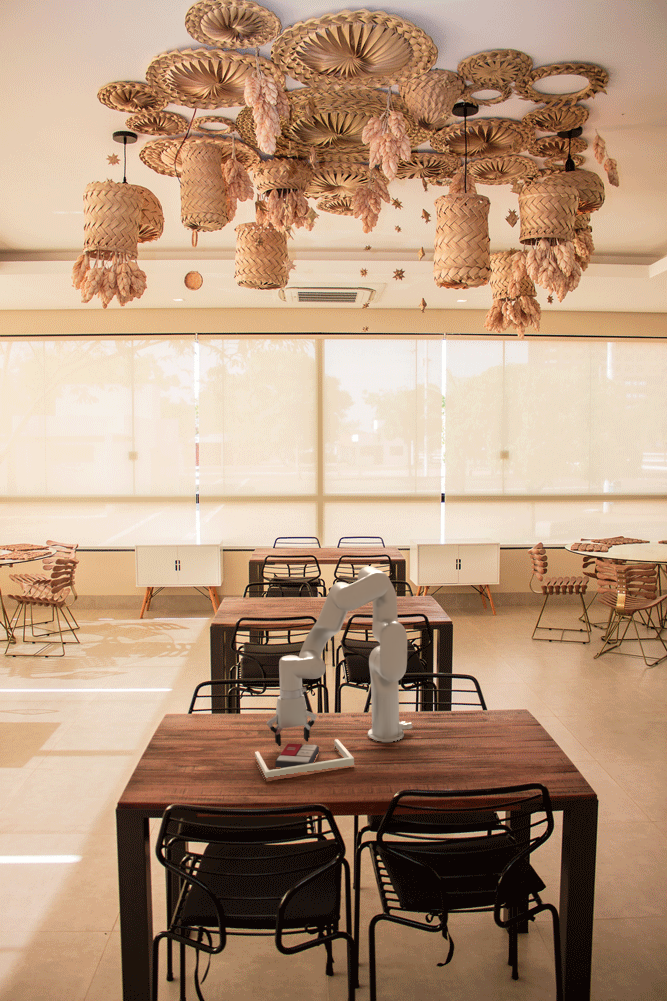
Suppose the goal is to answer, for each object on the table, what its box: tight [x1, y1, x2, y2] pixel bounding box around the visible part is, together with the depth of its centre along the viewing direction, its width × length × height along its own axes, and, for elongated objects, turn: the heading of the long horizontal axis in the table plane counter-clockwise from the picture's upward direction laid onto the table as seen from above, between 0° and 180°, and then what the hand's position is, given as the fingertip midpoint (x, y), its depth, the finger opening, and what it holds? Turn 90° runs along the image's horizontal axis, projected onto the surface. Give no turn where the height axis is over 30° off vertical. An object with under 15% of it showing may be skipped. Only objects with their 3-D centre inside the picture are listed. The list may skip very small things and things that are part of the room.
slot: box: [254, 738, 355, 778], centre depth 228 cm, size 28×16×3 cm, turn 108°
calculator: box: [274, 742, 320, 768], centre depth 229 cm, size 11×4×15 cm
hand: (292, 742), depth 241 cm, fingers open, 9 cm apart
